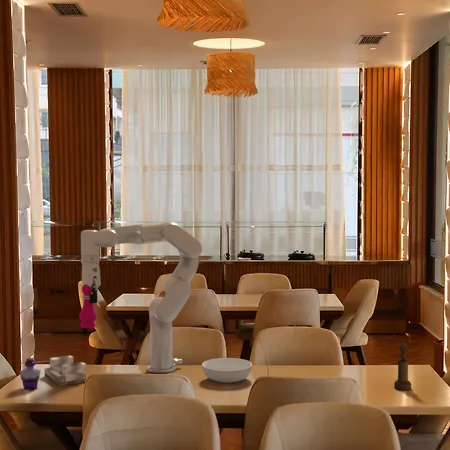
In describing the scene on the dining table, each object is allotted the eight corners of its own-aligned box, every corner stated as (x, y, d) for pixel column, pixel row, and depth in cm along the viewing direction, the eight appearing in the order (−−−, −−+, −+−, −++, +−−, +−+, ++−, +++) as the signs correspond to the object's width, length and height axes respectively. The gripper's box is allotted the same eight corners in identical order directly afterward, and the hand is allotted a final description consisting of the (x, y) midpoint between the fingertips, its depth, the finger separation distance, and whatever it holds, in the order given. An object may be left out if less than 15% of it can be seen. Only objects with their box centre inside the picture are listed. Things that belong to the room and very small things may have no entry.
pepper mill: (92, 329, 320) (94, 281, 319) (76, 327, 321) (77, 280, 320) (98, 326, 327) (100, 279, 326) (82, 324, 328) (84, 278, 327)
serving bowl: (193, 383, 313) (193, 366, 312) (215, 371, 332) (215, 356, 331) (240, 389, 304) (240, 372, 304) (260, 376, 323) (260, 360, 323)
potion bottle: (24, 385, 311) (24, 355, 310) (45, 385, 309) (44, 356, 308) (15, 390, 302) (15, 360, 301) (36, 391, 301) (35, 361, 300)
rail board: (71, 372, 330) (71, 354, 330) (87, 381, 315) (87, 363, 315) (44, 376, 324) (44, 358, 323) (59, 386, 309) (59, 367, 308)
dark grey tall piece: (413, 387, 306) (414, 342, 305) (408, 391, 300) (409, 345, 299) (397, 385, 309) (397, 341, 308) (392, 389, 304) (392, 344, 303)
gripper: (106, 260, 317) (107, 304, 318) (90, 257, 332) (91, 298, 333) (89, 261, 313) (90, 305, 314) (74, 258, 328) (74, 300, 329)
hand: (90, 301), depth 324 cm, fingers closed on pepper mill, 5 cm apart
